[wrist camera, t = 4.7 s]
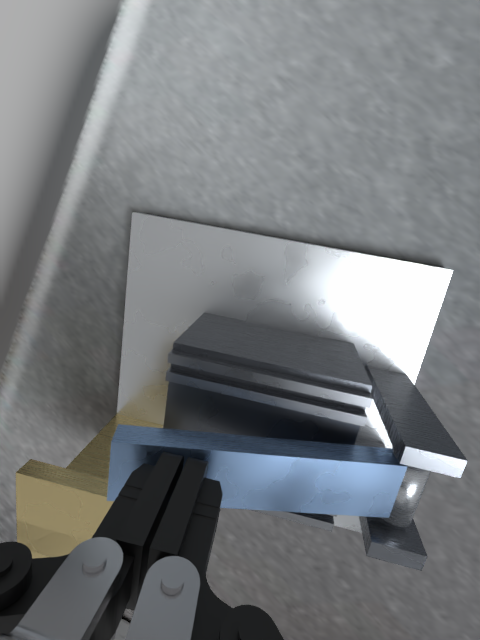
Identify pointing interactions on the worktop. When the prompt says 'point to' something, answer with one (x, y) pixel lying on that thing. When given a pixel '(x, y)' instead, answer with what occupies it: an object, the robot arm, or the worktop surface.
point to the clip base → (268, 297)
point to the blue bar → (280, 472)
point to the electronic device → (122, 630)
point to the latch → (66, 496)
